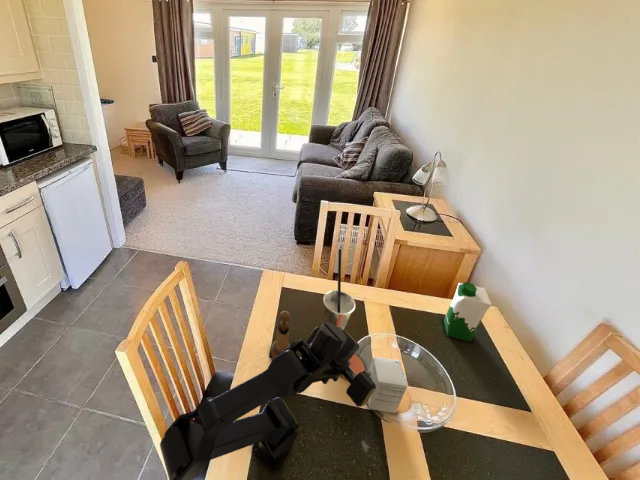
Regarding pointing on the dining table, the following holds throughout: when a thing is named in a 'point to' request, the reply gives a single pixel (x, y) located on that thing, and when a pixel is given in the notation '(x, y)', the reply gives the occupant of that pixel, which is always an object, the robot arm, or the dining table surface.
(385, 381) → the white packaging box
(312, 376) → the robot arm
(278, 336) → the wooden pepper mill
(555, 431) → the dining table surface
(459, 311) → the milk carton
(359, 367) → the coaster
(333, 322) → the steel tumbler with straw
